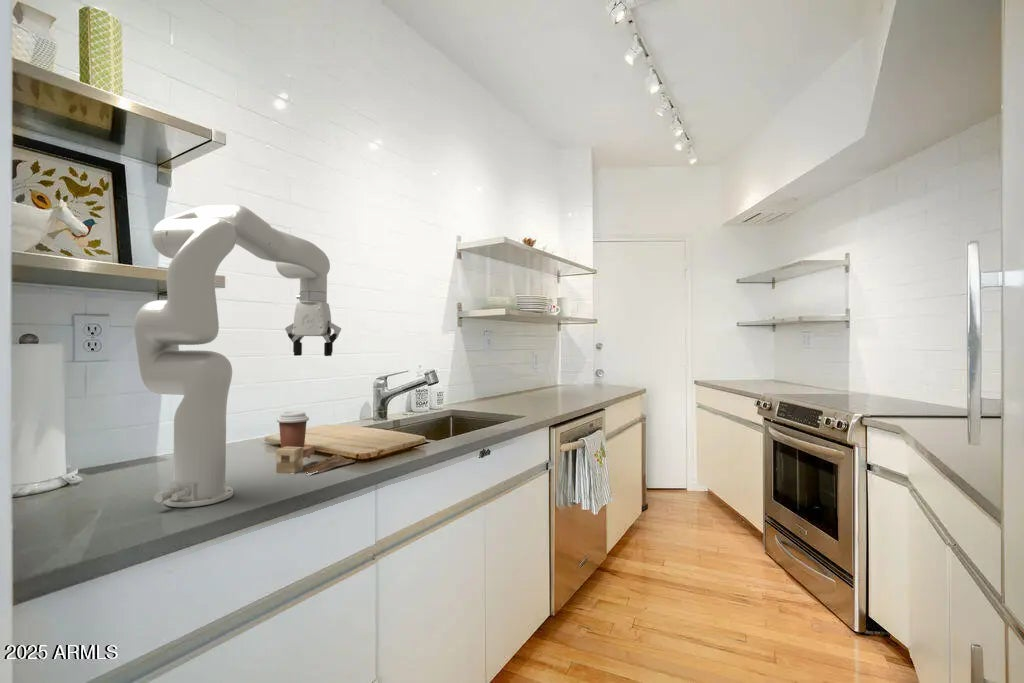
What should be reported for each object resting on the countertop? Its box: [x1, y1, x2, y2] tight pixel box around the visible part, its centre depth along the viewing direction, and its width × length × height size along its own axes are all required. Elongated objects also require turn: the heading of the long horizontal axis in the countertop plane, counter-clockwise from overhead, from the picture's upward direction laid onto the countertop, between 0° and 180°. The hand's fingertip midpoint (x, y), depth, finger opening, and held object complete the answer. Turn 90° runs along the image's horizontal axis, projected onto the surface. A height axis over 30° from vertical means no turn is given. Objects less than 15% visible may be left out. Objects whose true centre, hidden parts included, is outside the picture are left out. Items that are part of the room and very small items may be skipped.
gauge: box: [275, 445, 316, 474], centre depth 136 cm, size 12×5×6 cm, turn 171°
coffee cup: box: [276, 410, 310, 448], centre depth 155 cm, size 9×9×12 cm
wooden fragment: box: [303, 454, 357, 474], centre depth 140 cm, size 26×11×1 cm, turn 167°
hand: (312, 355), depth 151 cm, fingers open, 9 cm apart
